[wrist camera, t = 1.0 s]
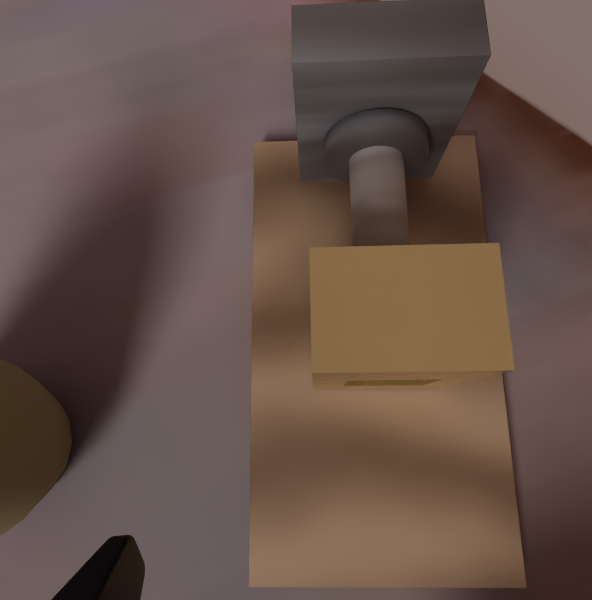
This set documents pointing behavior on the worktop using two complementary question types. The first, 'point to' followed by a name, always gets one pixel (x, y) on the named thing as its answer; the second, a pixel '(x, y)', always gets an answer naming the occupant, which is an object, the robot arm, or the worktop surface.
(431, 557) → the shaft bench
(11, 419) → the squeeze bottle
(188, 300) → the worktop surface
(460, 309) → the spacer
